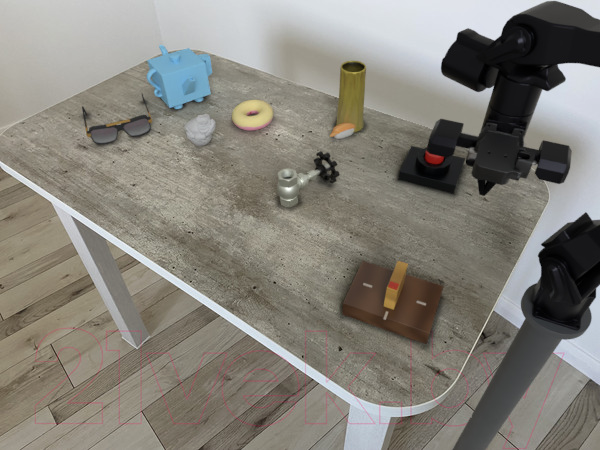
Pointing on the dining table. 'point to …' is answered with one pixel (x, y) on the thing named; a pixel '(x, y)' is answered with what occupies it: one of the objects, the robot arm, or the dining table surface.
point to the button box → (431, 171)
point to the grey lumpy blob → (200, 129)
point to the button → (433, 158)
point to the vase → (351, 94)
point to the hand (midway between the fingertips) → (482, 193)
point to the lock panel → (409, 308)
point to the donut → (252, 122)
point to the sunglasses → (119, 128)
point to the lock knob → (395, 285)
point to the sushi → (343, 130)
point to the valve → (304, 179)
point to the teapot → (180, 76)
